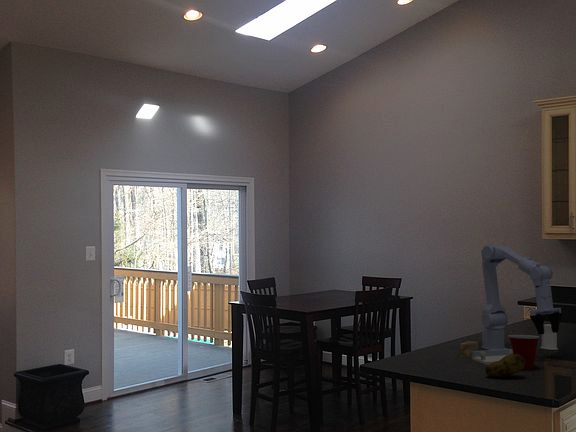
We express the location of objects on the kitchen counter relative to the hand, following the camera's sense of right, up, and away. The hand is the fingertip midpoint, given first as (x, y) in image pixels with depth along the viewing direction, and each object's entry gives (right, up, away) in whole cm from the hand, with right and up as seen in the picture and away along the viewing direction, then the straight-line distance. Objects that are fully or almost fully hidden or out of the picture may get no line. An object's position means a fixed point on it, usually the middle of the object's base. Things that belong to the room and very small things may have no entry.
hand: (548, 333), depth 243 cm
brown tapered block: (-27, -12, +12) cm, 31 cm away
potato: (-25, -11, -25) cm, 37 cm away
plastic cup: (-13, -11, -12) cm, 21 cm away
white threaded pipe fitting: (+11, -11, +25) cm, 29 cm away
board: (-17, -11, +3) cm, 21 cm away
